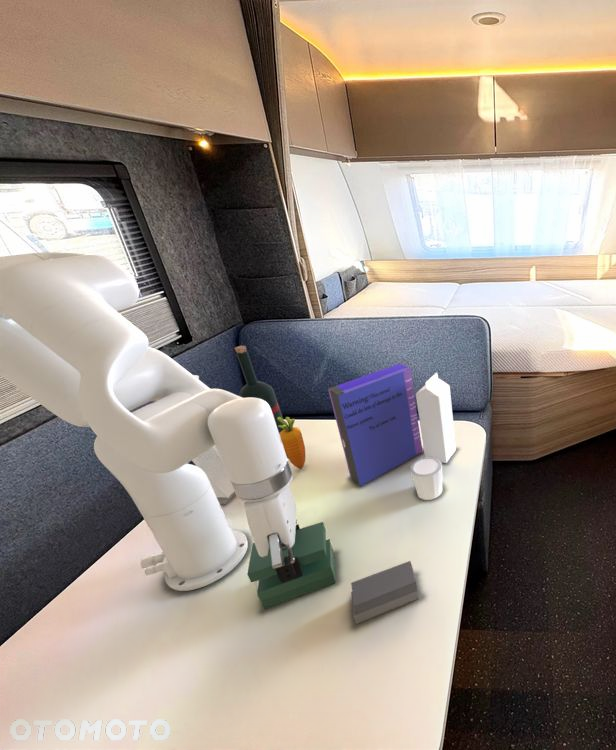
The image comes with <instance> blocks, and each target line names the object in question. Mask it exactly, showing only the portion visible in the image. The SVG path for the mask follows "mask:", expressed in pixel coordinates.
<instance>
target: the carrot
mask: <svg viewBox="0 0 616 750" xmlns="http://www.w3.org/2000/svg"><path fill="white" fill-rule="evenodd" d="M277 420H278V421H280V422H281V423H282V424H283V425H279V426H278V427H280V428H282V429H284V430H283V431H281V432H280V433H279V435H280V438H281V441H282V444H283V447H284V450H285V453H286V456H287V460H288V461H289V462H290V463H291V464H292V465H293V466H294V467H295V468H297V470H302V469H303V468H304V466H305V463H306V446H305V441H304V437H303V434H302V432H301V430H300V428H299V427H297V426H294V423H295V422H296V419H295V418H290V417H289V416H286V417H285V420H284V418H283V419H282V418H281V417H278V418H277Z"/></svg>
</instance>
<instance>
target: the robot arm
mask: <svg viewBox="0 0 616 750" xmlns="http://www.w3.org/2000/svg"><path fill="white" fill-rule="evenodd" d="M139 298H140V289H139V286H138V282H137V281H136V279H135V278H134V276H133V275H132V274H131V273H130V272H129V271H128V269H126V268H125V267H124V266H123V265H121V264H120V263H118V262H117V261H115V260H114V259H111V258H109V257H106V256H104V255H99V254H95V253H75V252H74V253H73V252H58V251H57V252H56V251H44V252H43V251H41V252H33V253H23V254H15V255H4V256H0V376H1V377H2V378H3V379H5V380H7V381H8V382H9V383H10V384H12V385H13V386H14V387H16V388H17V389H18V390H20V391H21V392H23V393H24V394H26V395H27V396H28V397H30V398H31V399H32V400H34V401H35V402H36V403H38V404H40V405H41V406H42V407H44V409H46V410H48V411H49V412H50V413H52V414H53V415H55V416H56V417H58V418H59V419H61V420H63V421H65V422H66V423H68V424H71V425H72V426H76V427H79V428H90V429H91V430H92V432H93V433H94V434H95V436H96V437H95V438H94V439H95V440H94V443H93V452H94V454H95V455H96V457H97V459H98V460H99V462H100V463H101V464H102V465H103V466H104V467H105V468H106V470H108V471H109V472H110V473H111V474H112V475H113V476H114V477H115V479H117V481H118V482H120V484H121V485H122V486H123V487H124V489H125V491H126V492H127V493H128V495H129V496H130V498H131V499H132V502H134V504H135V506H136V508H137V510H138V511H139V513H140V514H141V516H142V517H143V519H144V521H145V523H146V524H147V526H148V529H149V530H150V532H151V534H152V535H153V537H154V539H155V540H156V542H157V544H158V546H159V547H160V549H161V550H162V552H158V553H153V554H150V555H146V556H143V557H142V558H141V559H140V566H141V568H142V569H144V574H145V576H146V577H147V576H151V575H154V574H157V573H160V572H163V573H164V575H163V576H164V581H165V583H166V585H167V586H168V587H169V588H170V589H172V590H174V591H179V592H187V591H194V590H199V589H201V588H204V587H206V586H209V585H211V584H213V583H215V582H217V581H218V580H220V579H222V578H223V577H224V576H226V575H228V574H229V573H230V572H231V571H232V570H234V569H235V568H236V567H237V566H238V565H239V563H240V562H241V561H242V559H243V558H244V557H245V555H246V553H247V551H248V548H249V541H248V539H247V536H246V535H245V534H244V533H243V532H242V531H240V530H238V529H232V528H231V526H230V524H229V521H228V520H227V517H226V515H225V513H224V510H223V508H222V505H220V504H219V502H218V499H217V497H216V495H215V493H214V491H213V488H212V486H211V484H210V482H209V480H208V477H207V476H206V474H205V472H204V471H203V470H202V469H200V468H199V467H197V466H196V465H195V464H190V462H192V460H193V459H194V458H196V457H197V456H199V455H200V454H202V453H204V452H205V451H207V450H208V449H210V448H211V447H213V446H214V445H216V448H217V450H218V452H219V455H220V457H221V460H222V462H223V465H224V467H225V469H226V472H227V474H228V477H229V479H230V481H231V484H232V486H233V489H234V491H235V496H236V498H237V499H238V500H239V501H240V502H243V505H244V506H243V507H244V511H245V516H246V520H247V524H248V527H249V531H250V534H251V537H252V541H253V543H255V546H256V549H257V552H258V554H259V556H261V557H264V556H268V551H269V547H270V552H271V560H272V567H273V569H276V572H277V574H278V577H279V579H280V582H281V583H284V582H287V581H290V580H293V579H295V578H298V577H301V576H302V574H303V572H302V569H301V566H300V563H299V561H298V558H297V556H296V557H294V552H293V548H292V546H293V545H294V543H295V532H296V530H298V529H301V527H300V525H299V523H298V519H297V504H296V499H295V496H294V494H293V491H292V488H291V486H290V485H291V484H292V482H293V479H294V476H293V473H292V469H291V467H290V463H289V459H288V457H286V453H285V450H284V447H283V444H282V441H281V438H280V435H279V432H278V429H277V426H276V422H275V419H274V416H273V413H272V410H271V408H270V406H269V404H268V403H267V402H266V401H264V400H262V399H259V398H253V397H248V398H242V397H240V396H239V395H237V394H235V393H233V392H230V391H227V390H225V389H221V388H210V387H209V386H208V385H206V384H205V383H204V382H203V381H201V380H200V378H199V379H197V378H196V377H195V376H193V375H194V374H192V373H191V372H190V371H189V370H187V369H186V368H185V367H183V366H182V365H181V364H179V362H177V361H176V360H175V359H173V358H171V357H170V356H169V355H168V354H166V353H165V352H163V351H160V350H159V349H157V348H153V347H150V346H149V345H150V344H149V343H150V341H149V338H148V336H147V335H146V334H145V333H144V331H142V330H141V329H140V328H138V327H137V325H134V324H133V323H132V322H131V321H130V320H128V319H127V318H125V317H124V316H123V315H122V314H121V313H120V312H118V311H120V310H125V309H129V308H130V307H132V306H134V305H135V304H136V303H137V302H138V300H139ZM9 320H11V321H13V322H10V321H9ZM150 402H151V403H150ZM148 403H149V404H148ZM141 406H143V407H141ZM137 408H139V409H137ZM135 409H136V410H135ZM133 410H134V411H133ZM131 411H132V412H131ZM281 542H283V543H284V544H281ZM285 549H287V551H288V555H289V556H287V557H283V555H282V550H285Z"/></svg>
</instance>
